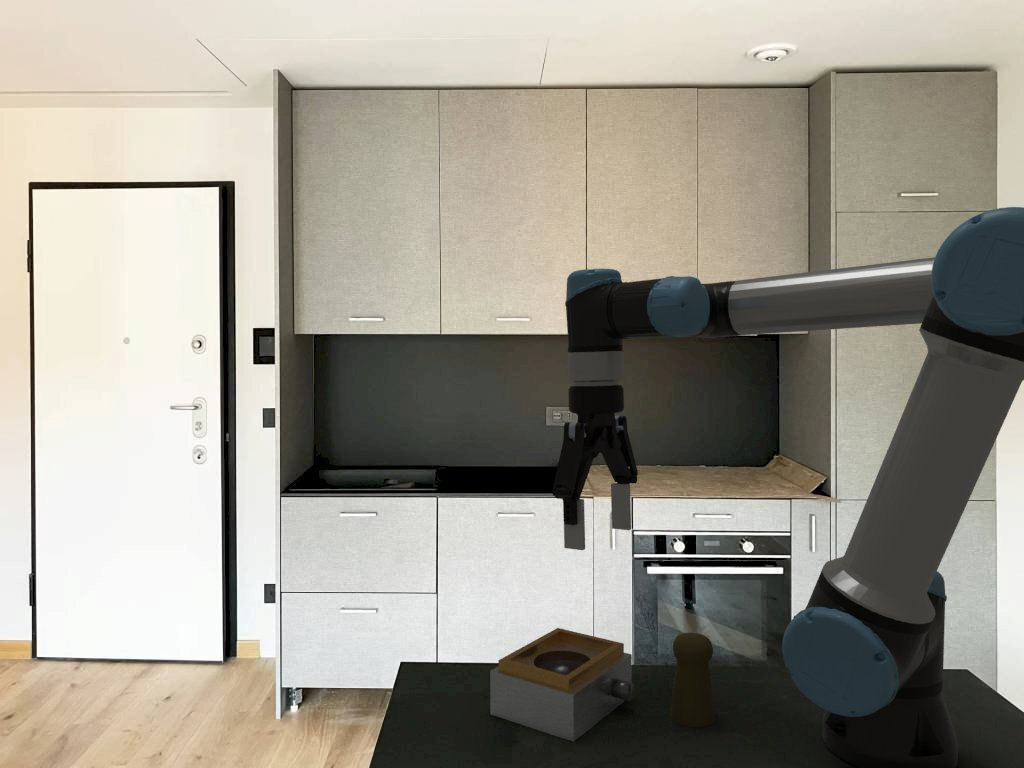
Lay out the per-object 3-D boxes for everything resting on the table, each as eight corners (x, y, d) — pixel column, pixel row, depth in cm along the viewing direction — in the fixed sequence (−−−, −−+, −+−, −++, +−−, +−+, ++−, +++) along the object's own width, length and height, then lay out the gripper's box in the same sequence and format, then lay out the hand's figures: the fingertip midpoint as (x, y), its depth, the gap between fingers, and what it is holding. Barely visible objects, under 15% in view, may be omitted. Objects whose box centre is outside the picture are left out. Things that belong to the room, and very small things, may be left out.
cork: (708, 705, 110) (709, 627, 110) (721, 726, 104) (722, 643, 104) (664, 706, 110) (665, 628, 109) (675, 727, 104) (675, 644, 103)
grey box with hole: (647, 700, 112) (647, 647, 112) (590, 747, 99) (590, 688, 98) (553, 674, 121) (553, 625, 120) (490, 714, 108) (490, 659, 107)
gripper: (612, 380, 122) (615, 519, 122) (522, 387, 101) (526, 554, 102) (658, 380, 117) (661, 524, 118) (574, 387, 97) (578, 561, 97)
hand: (599, 538), depth 110 cm, fingers open, 13 cm apart
